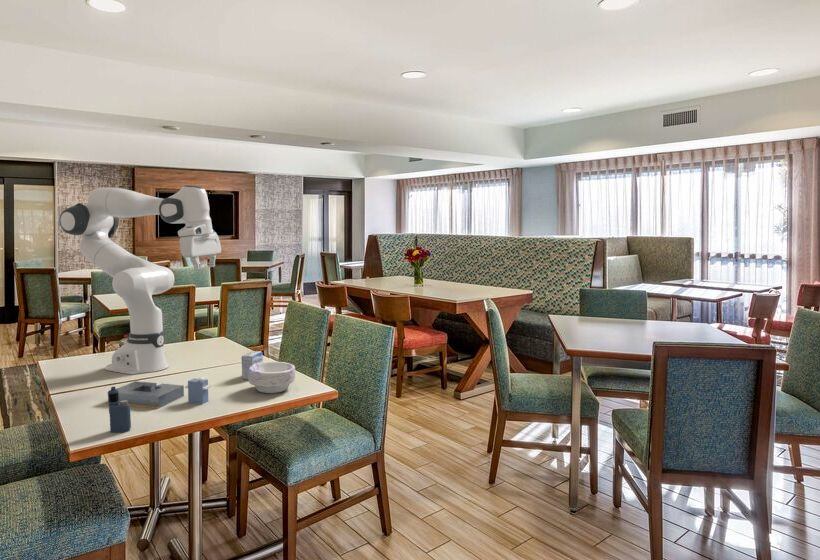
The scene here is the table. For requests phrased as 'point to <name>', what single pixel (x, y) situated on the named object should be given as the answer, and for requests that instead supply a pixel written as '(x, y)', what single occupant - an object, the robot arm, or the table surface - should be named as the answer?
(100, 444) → the table surface
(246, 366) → the medicine box
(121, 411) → the vaping device
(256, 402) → the table surface
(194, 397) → the servo block
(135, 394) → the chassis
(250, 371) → the paper bowls
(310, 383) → the table surface
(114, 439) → the table surface
